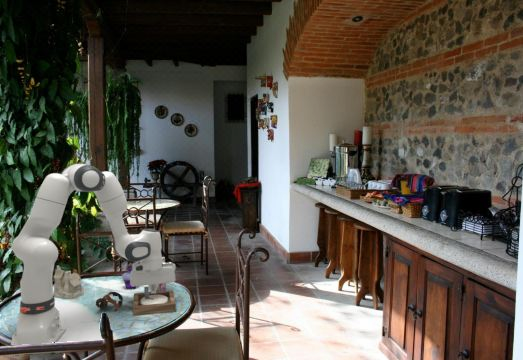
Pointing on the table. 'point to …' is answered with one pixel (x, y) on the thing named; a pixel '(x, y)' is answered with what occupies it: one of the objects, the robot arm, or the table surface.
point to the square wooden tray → (154, 308)
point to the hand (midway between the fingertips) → (153, 293)
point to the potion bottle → (128, 277)
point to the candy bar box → (162, 286)
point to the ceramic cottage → (67, 285)
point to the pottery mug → (110, 301)
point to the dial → (153, 298)
